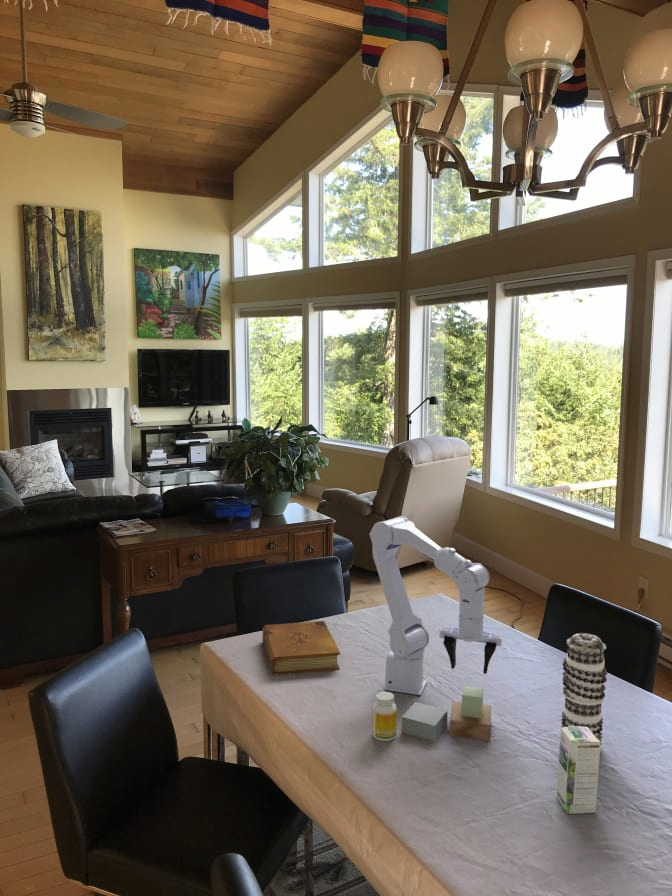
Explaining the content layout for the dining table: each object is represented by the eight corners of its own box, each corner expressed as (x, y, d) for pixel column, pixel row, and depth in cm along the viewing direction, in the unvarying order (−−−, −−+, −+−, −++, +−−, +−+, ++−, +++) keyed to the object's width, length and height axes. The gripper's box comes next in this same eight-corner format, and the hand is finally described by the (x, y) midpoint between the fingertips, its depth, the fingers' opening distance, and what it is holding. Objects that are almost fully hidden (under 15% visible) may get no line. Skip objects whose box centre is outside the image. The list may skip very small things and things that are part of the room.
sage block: (461, 715, 161) (462, 695, 160) (463, 706, 165) (463, 686, 164) (481, 718, 159) (482, 697, 159) (482, 709, 164) (483, 688, 163)
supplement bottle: (368, 732, 160) (368, 692, 159) (388, 727, 162) (389, 688, 161) (379, 744, 155) (380, 703, 154) (400, 738, 158) (401, 698, 156)
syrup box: (555, 796, 137) (558, 726, 135) (584, 794, 138) (588, 725, 136) (567, 815, 132) (570, 742, 130) (597, 813, 132) (601, 741, 130)
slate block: (401, 733, 160) (401, 716, 160) (415, 717, 167) (415, 701, 167) (434, 742, 157) (435, 725, 156) (447, 726, 164) (447, 710, 163)
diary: (262, 643, 211) (262, 625, 210) (323, 639, 215) (323, 620, 214) (271, 677, 189) (271, 656, 188) (339, 671, 192) (339, 651, 192)
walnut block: (449, 736, 159) (450, 720, 159) (452, 717, 168) (452, 701, 167) (490, 741, 157) (490, 724, 157) (490, 721, 166) (491, 705, 165)
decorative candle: (550, 743, 156) (555, 635, 153) (574, 730, 161) (580, 626, 158) (586, 762, 149) (592, 649, 145) (611, 748, 154) (617, 639, 151)
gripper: (437, 617, 166) (436, 671, 168) (500, 625, 161) (498, 681, 163) (443, 607, 173) (441, 659, 175) (503, 614, 168) (501, 668, 170)
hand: (469, 669), depth 169 cm, fingers open, 7 cm apart
